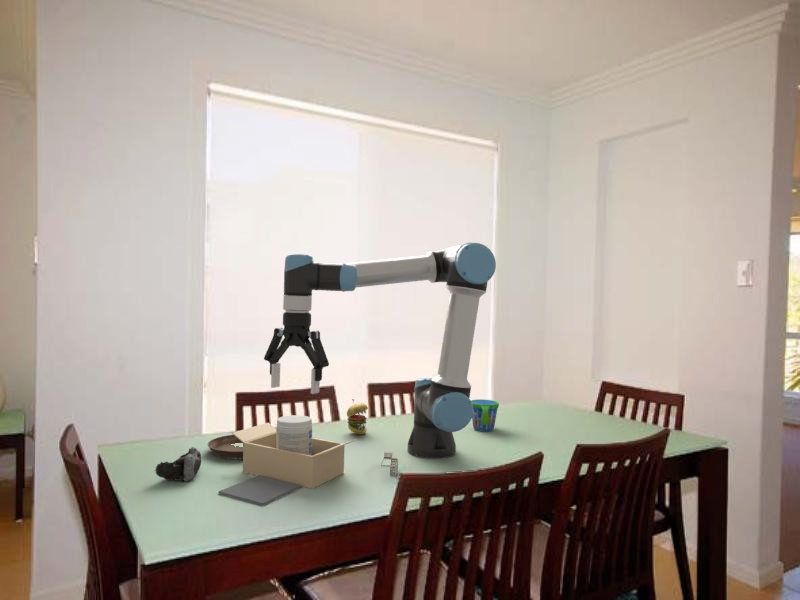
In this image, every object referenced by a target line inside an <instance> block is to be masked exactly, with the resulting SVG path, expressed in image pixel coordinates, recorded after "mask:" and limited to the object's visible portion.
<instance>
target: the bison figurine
mask: <svg viewBox="0 0 800 600" xmlns="http://www.w3.org/2000/svg"><path fill="white" fill-rule="evenodd" d="M187 451H188V452H186V453H184V454H182V455H180V456H179V458H177V459H176V460H174V461H173V462H169V461H165V462H163V461H161V462H160V463H158V464H157V465H156V466H155V470H154V471H155V474H156V476H158V477H159V478H161V479H165V480H168V481H180V480H184V483H185V482H186V483H187V482H189V481H191V480H192V479H194V478H195V476H196V475H197V474H198V471H200V468H201V465H202V454H201V451H200V450H198V449H197V447H194V446H192V447H191V448H188V450H187Z"/></svg>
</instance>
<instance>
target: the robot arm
mask: <svg viewBox="0 0 800 600" xmlns="http://www.w3.org/2000/svg"><path fill="white" fill-rule="evenodd" d="M496 267H497V262H496V258H495V255H494V253H493V252H492V250H491V249H490V248H489V247H488V246H487V245H485V244H482V243H480V242H466V243H464V244H459V245H454V246H450V247H448V248H445V249H440V250H434V251H428V252H427V254H426V255H420V256H417V255H416V256H409V257H397V258H387V259H378V260H367V261H358V262H346V263H335V262H334V263H331V262H329V263H325V262H315V261H314V256H312V254H302V253H301V254H299V253H290V254H288V255H287V256H285V259H284V272H283V301H282V302H283V305H282V309H283V310H284V312H283V314H282V325H283V327H284V328H283V327H275V328H274V330H273V336H272V338H271V340H270V343H269V345H268V348H267V350H266V352H265V354H264V357H263V360H264V361H267V362H268V363H269V374H270V376H271V377H270V379H271V380H270V381H271V382H270V383H271V384H270V388H272V389H274V388H278V387H281V382H280V381H281V363H280V360H281V358H283V356H284V355H285V353H287V352H286V351H288V349H289V347H293V346H295V347H296V348H297V347H298V348H299V347H300V348H301V349H302V350H303V351H304V353H305V355H306V357H307V358H308V360H309V361H310V364H312V366H313V368H311V376H310V377H311V378H310V394H312V395H314V394H319V393H320V387H321V385H320V382H321V381H322V379H323V369H324V368H326V367H329V366H330V362H329V360H328V357H327V355H326V352H325V349H324V346H323V343H322V341H321V340H322V339H321V331H320V330H312V331H311V329H310V327H311V325H312V313H311V312H310V311H312V300H313V299H312V297H313V291H326V292H342V293H344V292H354V291H355V290H356V289H357V288H363V287H366V288H367V287H373V286H374V287H375V286H384V285H385V286H386V285H393V284H403V283H411V282H412V283H413V282H423V281H429V282H430V283H432V284H433V283H434V284H435V283H446V287H445V288H447V290H448V291H449V293H450V295H449V300H448V306H447V312H446V320H445V326H444V332H443V337H442V344H441V345H442V346H441V351H440V358H439V362H438V363H439V364H438V369H437V374H436V375H435V376H433V377H426V378H423V377H422V378H418V379H416V380H415V383H414V384H415V385H414V388H413V390H414V403H413V404H414V405H413V406H414V408H413V427H412V430H411V433H410V436H409V438H408V442H407V453H409V454H411V455H412V456H415V457H419V458H427V459H444V458H443V457H445V458H449V456H450V457H452V455H453V456H455V455H456V453H457V446H456V440H455V438H454V437H455V436H454V434H453V433H456V432H460V431H461V430H463V429H464V428H466V427H467V426H468V425H469V423H470V422H471V421H472V416H473V406H472V403H471V399H470V398H471V396H470V395H471V391H472V390H471V389H472V385H471V383H470V381H468V377H469V376H468V374H469V369H470V362H471V356H472V348H473V342H474V335H475V330H476V323H477V318H478V311H479V305H480V298H481V297H482V296H483V295H485V294H486V293H487V287H488V282H489V281H490V280H491V279H492V277H493V276H494V274H495V272H496ZM283 336H284V338H283Z"/></svg>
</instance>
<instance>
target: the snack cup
mask: <svg viewBox="0 0 800 600" xmlns="http://www.w3.org/2000/svg"><path fill="white" fill-rule="evenodd" d="M470 400H471V399H470ZM471 403H472V406H473V416H472V418H471V421H472V427H473V429H474V430H475V431H479V432H492V431H494V429H495V426H496V425H495V424H496V419H497V412H498V408H499V406H500V405H499V402H498V401H496V400H492V399H483V398H482V399H472V400H471Z"/></svg>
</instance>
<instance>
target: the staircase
mask: <svg viewBox="0 0 800 600" xmlns="http://www.w3.org/2000/svg"><path fill="white" fill-rule="evenodd" d="M384 460H390V465H389V464H383V462H384ZM380 467H383V468H385V467H386V468H389V475H395V476H396V475H397V476H398V473H397V472H399V459H398V458H394V457H393V452H383V459H382V462H381V463H380ZM395 476H394V477H395ZM397 476H396V477H397Z"/></svg>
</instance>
